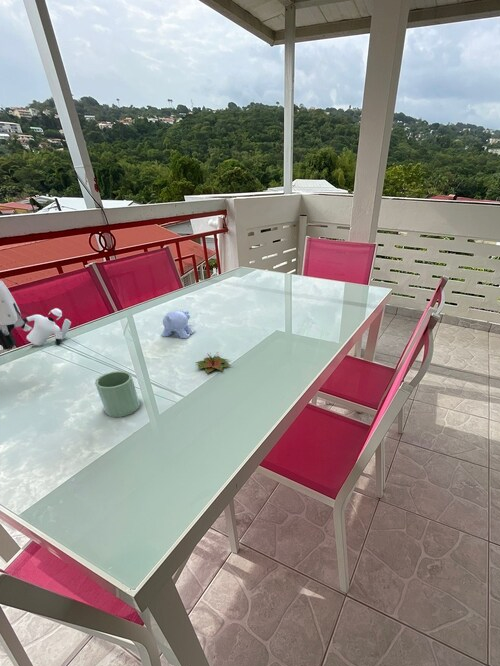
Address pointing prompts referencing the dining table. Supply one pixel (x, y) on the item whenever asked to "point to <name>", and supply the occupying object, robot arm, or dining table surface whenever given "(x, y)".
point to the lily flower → (213, 363)
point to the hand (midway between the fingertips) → (9, 347)
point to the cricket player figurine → (45, 328)
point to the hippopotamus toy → (177, 324)
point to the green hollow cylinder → (117, 393)
